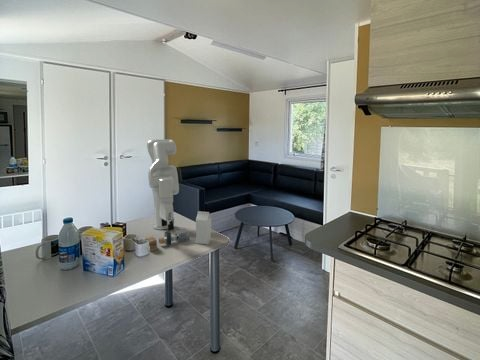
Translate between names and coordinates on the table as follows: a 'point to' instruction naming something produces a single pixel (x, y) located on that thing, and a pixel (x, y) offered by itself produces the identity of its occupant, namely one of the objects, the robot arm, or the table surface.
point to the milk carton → (203, 227)
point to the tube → (168, 238)
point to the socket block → (152, 243)
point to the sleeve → (182, 235)
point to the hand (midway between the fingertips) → (167, 228)
